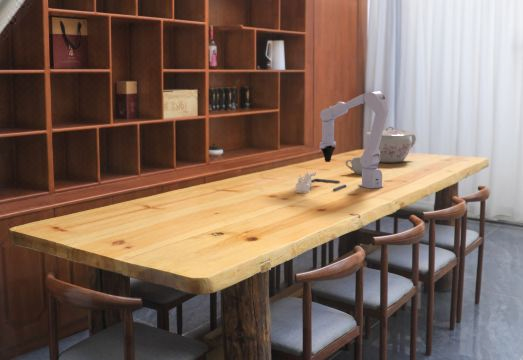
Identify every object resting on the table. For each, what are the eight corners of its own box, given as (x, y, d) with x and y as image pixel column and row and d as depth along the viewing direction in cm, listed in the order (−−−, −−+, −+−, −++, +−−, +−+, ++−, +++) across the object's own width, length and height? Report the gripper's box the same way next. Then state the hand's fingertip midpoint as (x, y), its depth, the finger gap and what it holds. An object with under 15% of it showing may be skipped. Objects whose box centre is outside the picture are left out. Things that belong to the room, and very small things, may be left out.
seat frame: (353, 184, 314) (353, 182, 314) (335, 191, 297) (335, 189, 297) (315, 180, 325) (315, 178, 325) (295, 187, 307) (295, 185, 307)
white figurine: (308, 189, 303) (308, 168, 301) (321, 191, 298) (321, 170, 296) (291, 193, 295) (291, 171, 293) (304, 195, 290) (304, 173, 288)
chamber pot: (362, 163, 378) (362, 127, 374) (368, 157, 404) (369, 123, 400) (411, 165, 370) (413, 129, 366) (415, 159, 396) (416, 124, 392)
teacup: (371, 172, 349) (371, 157, 348) (372, 175, 339) (373, 160, 337) (345, 171, 351) (345, 157, 349) (345, 175, 340) (345, 159, 339)
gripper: (327, 132, 325) (326, 159, 327) (313, 134, 313) (313, 163, 315) (340, 132, 321) (339, 160, 324) (327, 135, 309) (326, 164, 311)
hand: (327, 161), depth 319 cm, fingers closed
